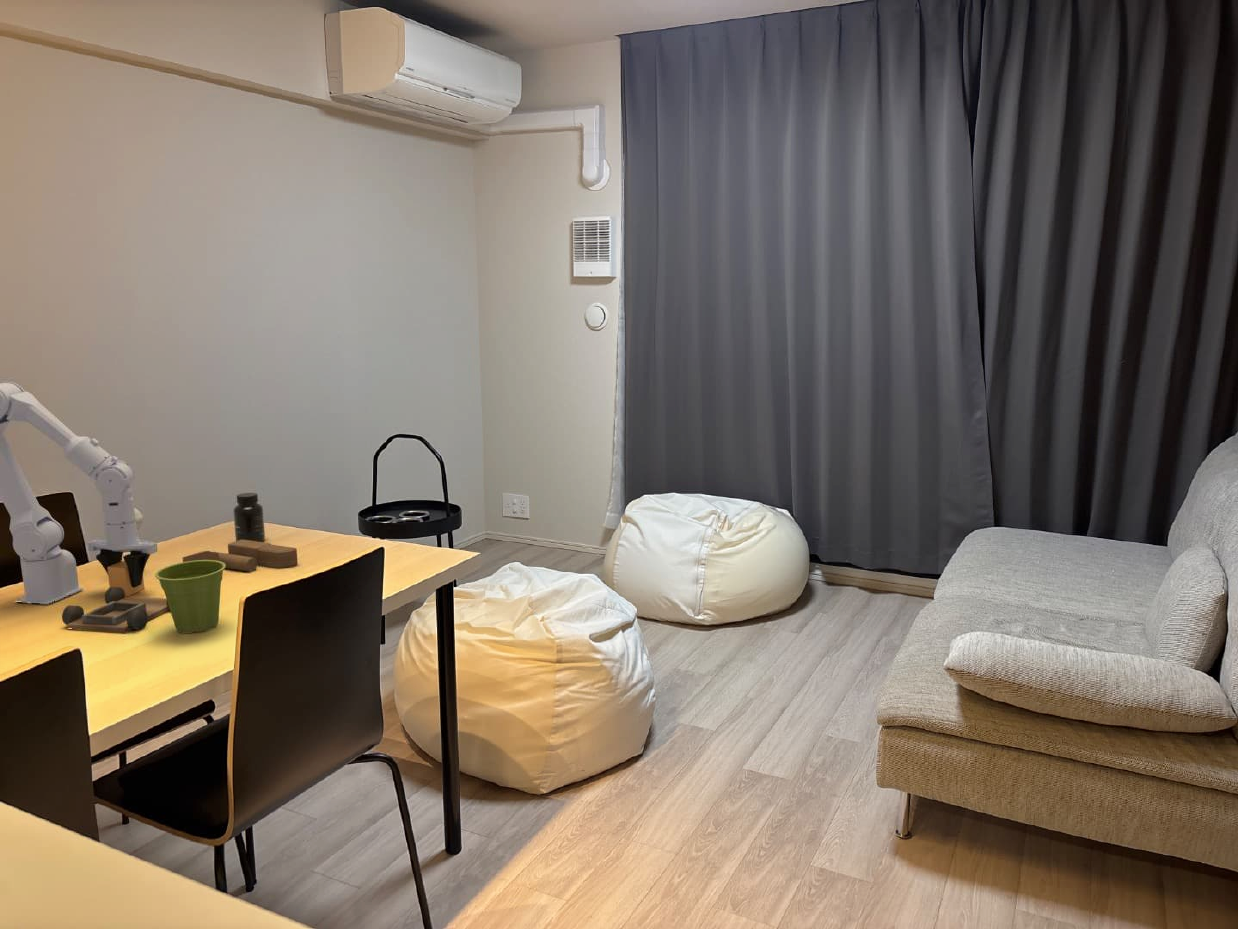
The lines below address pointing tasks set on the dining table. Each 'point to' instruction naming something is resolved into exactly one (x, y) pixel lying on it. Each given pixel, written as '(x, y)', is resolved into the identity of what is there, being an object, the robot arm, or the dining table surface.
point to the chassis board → (116, 613)
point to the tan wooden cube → (122, 578)
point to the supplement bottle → (249, 518)
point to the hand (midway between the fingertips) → (127, 585)
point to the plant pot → (193, 593)
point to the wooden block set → (250, 556)
